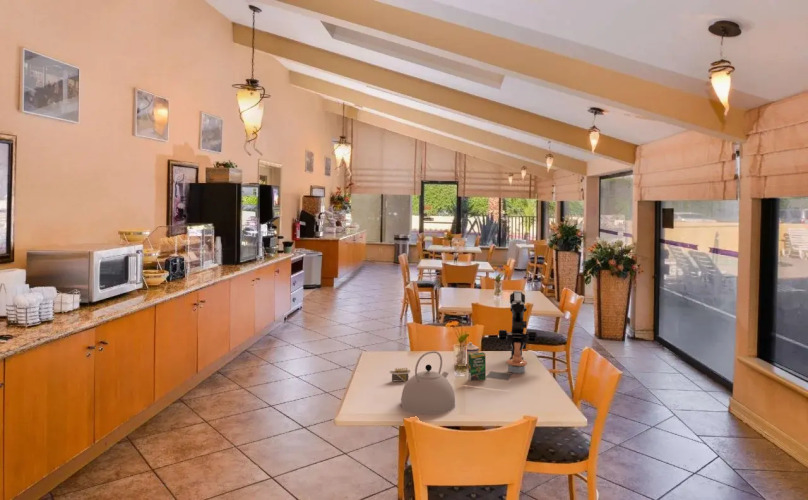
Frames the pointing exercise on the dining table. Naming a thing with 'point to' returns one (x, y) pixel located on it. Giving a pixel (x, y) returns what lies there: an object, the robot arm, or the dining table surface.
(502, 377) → the mat
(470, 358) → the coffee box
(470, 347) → the teacup with lid
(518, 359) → the wooden peg stand
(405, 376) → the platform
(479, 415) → the dining table surface
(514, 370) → the bowl
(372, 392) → the dining table surface
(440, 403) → the kettle
